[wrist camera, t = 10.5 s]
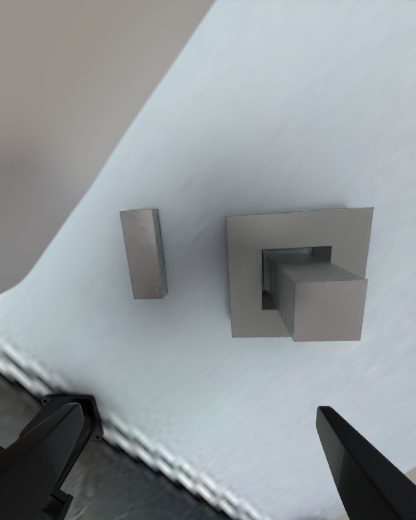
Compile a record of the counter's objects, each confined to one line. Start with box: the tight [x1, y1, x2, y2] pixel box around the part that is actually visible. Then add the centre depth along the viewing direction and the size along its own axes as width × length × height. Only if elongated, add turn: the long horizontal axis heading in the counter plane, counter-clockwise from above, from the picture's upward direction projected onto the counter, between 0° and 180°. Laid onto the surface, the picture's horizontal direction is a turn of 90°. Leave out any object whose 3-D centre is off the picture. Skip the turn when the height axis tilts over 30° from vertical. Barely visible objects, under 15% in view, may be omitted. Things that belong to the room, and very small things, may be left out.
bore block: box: [226, 207, 374, 338], centre depth 16 cm, size 10×10×3 cm
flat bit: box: [120, 209, 168, 299], centre depth 18 cm, size 8×3×2 cm, turn 4°
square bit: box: [264, 249, 368, 342], centre depth 14 cm, size 3×3×8 cm
